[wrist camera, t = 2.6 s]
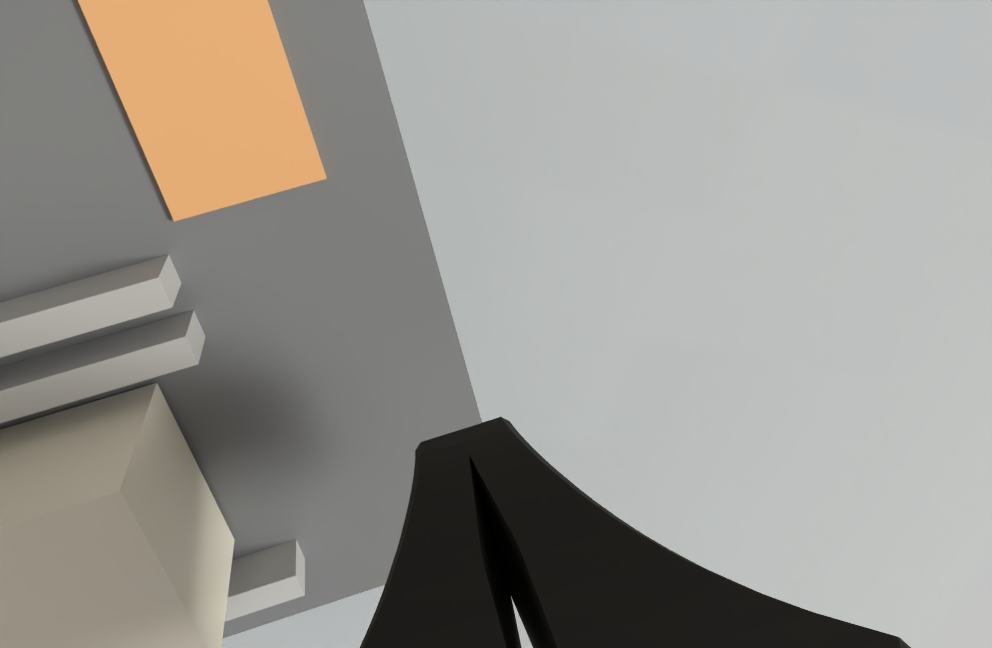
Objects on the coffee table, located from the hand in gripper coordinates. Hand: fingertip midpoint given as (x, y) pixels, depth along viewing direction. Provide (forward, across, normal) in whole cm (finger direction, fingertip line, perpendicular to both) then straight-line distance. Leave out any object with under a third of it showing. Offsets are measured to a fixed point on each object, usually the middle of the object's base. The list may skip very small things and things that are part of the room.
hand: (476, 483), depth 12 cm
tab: (+3, +7, 0) cm, 7 cm away
